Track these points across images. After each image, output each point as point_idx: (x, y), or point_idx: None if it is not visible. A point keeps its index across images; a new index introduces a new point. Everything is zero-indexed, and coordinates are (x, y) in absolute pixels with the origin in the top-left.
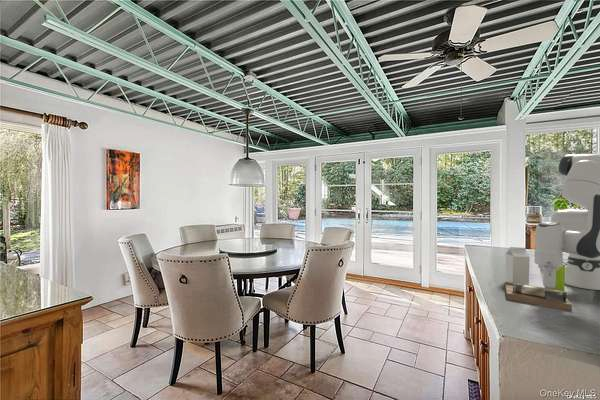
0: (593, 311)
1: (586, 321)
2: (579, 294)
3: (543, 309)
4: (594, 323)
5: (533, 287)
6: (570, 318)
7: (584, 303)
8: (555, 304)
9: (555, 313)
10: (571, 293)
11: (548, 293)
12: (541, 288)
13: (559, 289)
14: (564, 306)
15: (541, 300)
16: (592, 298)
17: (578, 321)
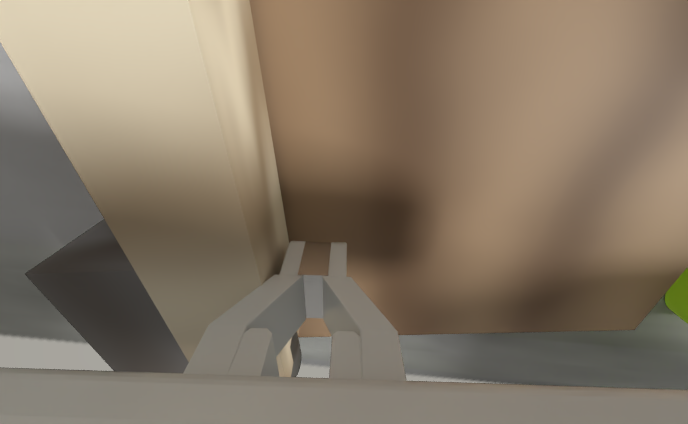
0: (310, 363)
1: (68, 325)
2: (668, 362)
3: (28, 160)
4: (76, 342)
5: (113, 134)
6: (23, 279)
7: (453, 356)
8: None
9: (25, 223)
10: (685, 339)
11: (49, 287)
12: (184, 248)
13: None
14: None
15: None
16: None
17: (14, 301)
